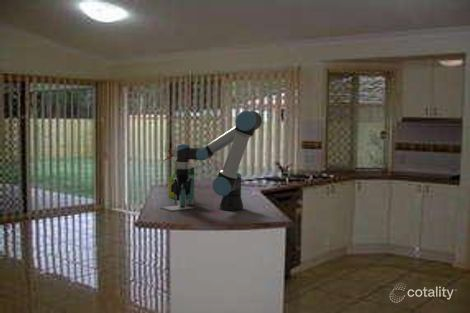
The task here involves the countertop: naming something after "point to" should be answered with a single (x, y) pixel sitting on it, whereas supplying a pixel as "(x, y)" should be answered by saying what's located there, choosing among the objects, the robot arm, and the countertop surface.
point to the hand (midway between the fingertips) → (181, 205)
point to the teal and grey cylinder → (182, 196)
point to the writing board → (176, 208)
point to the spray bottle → (171, 184)
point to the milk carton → (191, 195)
